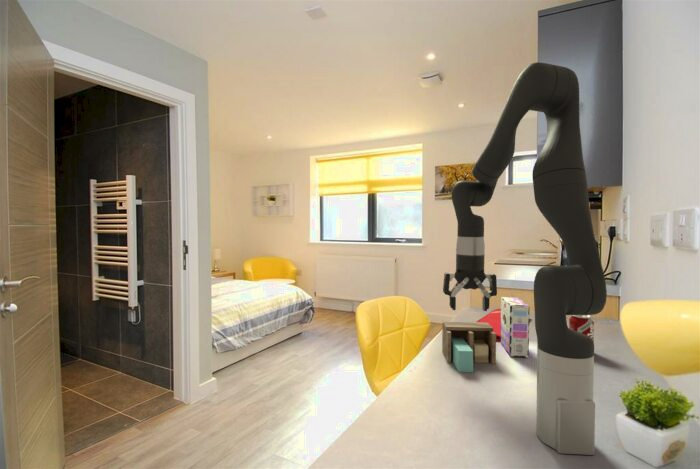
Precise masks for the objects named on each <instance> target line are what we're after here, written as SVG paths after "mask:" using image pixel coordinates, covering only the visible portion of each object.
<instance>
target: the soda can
mask: <svg viewBox="0 0 700 469" xmlns="http://www.w3.org/2000/svg"><path fill="white" fill-rule="evenodd" d="M592 316H593V315H570V318H568V328H569V329H571V330H574V331H577V332H580V333H583V334H585V335H587V336H589V337H590V338H591V339H592V340H593V342H594V343H595V321H594V320H593V319H592Z"/></svg>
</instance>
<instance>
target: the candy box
mask: <svg viewBox="0 0 700 469" xmlns="http://www.w3.org/2000/svg"><path fill="white" fill-rule="evenodd" d="M500 309H501V342H500V344H501V346H502V347H503V349H504V350H505V351H506V353H507V354H508V356H509V357H514V358H526V359H529V357H530V351H529V350H530V349H529V348H530V305H528V304H527V303H526V302H525V301H523V300H522V299H520V298H519V297H510V296H500Z"/></svg>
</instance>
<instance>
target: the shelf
mask: <svg viewBox="0 0 700 469" xmlns="http://www.w3.org/2000/svg"><path fill="white" fill-rule="evenodd" d="M441 334H442V341H441V342H442V344H441V346H442V350H441V351H442V355H443V356H444V358H445V361H446V362H447V363H448V364H450V363H452V360H451V338H463V339H464V340H465V342H466V343H467V344H468V345H469V347H470V348H471V349H472V350H473V340H483V341H484V342H485V343H486V344H487V345H488V362H490V363H491V364H492V365H496V364H497V341H496V333H495V332H493V327H492V326H490V325H489V324H488V323H485V322H477V321H442V333H441Z"/></svg>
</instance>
